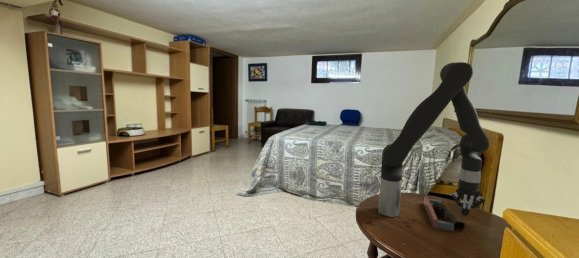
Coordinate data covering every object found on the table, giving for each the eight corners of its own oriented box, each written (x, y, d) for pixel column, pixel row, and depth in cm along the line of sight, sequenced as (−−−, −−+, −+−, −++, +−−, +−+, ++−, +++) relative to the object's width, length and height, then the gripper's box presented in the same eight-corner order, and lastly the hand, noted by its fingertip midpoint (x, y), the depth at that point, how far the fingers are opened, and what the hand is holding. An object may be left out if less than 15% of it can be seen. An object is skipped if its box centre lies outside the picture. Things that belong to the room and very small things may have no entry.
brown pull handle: (432, 227, 101) (433, 219, 101) (423, 203, 123) (424, 196, 123) (453, 231, 99) (454, 222, 98) (440, 206, 121) (441, 198, 120)
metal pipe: (465, 231, 99) (466, 218, 98) (448, 230, 100) (449, 218, 99) (441, 210, 117) (442, 199, 116) (427, 209, 117) (428, 199, 116)
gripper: (454, 179, 103) (449, 216, 106) (491, 184, 98) (485, 222, 101) (449, 174, 110) (445, 208, 113) (484, 178, 105) (478, 214, 108)
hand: (464, 215), depth 107 cm, fingers closed
